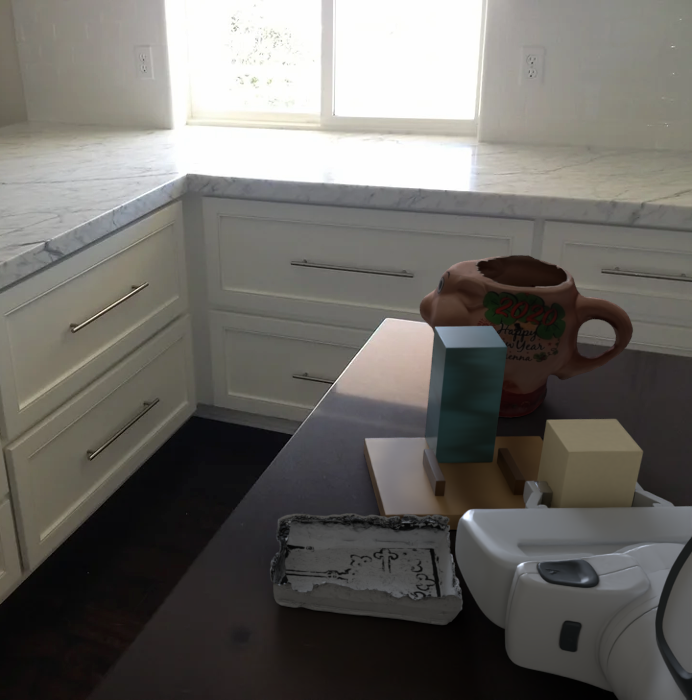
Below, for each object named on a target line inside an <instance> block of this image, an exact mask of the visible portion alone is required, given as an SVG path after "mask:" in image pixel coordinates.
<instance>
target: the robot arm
mask: <svg viewBox="0 0 692 700" xmlns="http://www.w3.org/2000/svg"><path fill="white" fill-rule="evenodd" d="M552 496H553V491H552V489H551V488H550V486H548V483H547V481H526V482H525V487H524V494H523V498H524V502H525V504H526V506H525V509H471V510H468V511H467V512H466V513H465V514H464V515H463V516H462V517H461V518H460V520H459V523H458V528H457V530H456V536H455V559H456V563H457V566H458V568H459V571H460V573H461V575H462V578H463V580H464V582H465V584H466V586H467V588H468V591H469V592H470V594H471V596H472V597H473V599H474V601H475V603H476V605H477V606H478V608H479V609H480V611H481V612H482V613H483V614H484V616H485V617H486V618H487V620H489V621H490V622H491V623H493V624H494V625H496V626H498V627H500V628H502V629H503V630H504V645H505V646H504V648H505V652H506V654H507V656H508V658H509V660H510V661H511V662H512V663H513V664H514V665H517V666H519V667H521V668H525V669H529V670H533V671H539V672H543V673H546V674H553V675H555V676H560V677H565V678H568V679H571V680H575V681H578V682H582V683H584V684H585V683H586V684H588V685H591V686H594V687H597V688H599V689H602V690H605V691H606V692H607V691H608V692H610V693H613V694H614V696H615V697H616V699H617V700H692V505H690V506H689V505H685V506H675V505H674V504H673V502H671V501H668V500H667V499H664V498H662V497H660V496H658V495H655V494H654V493H651V492H649V491H647V490H644V488H643V487H642V486H641V484H639V482H638V481H637V483H636V487H635V492H634V497H633V501H632V506H631V507H608V508H551V503H550V502H551V501H552Z"/></svg>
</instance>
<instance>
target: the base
mask: <svg viewBox="0 0 692 700" xmlns="http://www.w3.org/2000/svg"><path fill="white" fill-rule="evenodd" d="M432 340H433V341H432V352H431V364H430V374H429V387H428V397H427V409H426V419H425V430H424V437H365V438H364V439H363V441H364V442H363V455H364V459H365V462H366V466H367V470H368V474H369V477H370V481H371V485H372V488H373V493H374V496H375V499H376V504H377V508H378V511H379V516H384V517H387V518H389V517H393V516H399V517H400V520H401V519H402V518H403V516H404V515H405V514H409V515H416V516H418V517H425V516H428V515H430V516H431V517H432V516H433V515H442V516H443V517H448V518H449V522H448V523H447V525H449V526H450V530H451V531H452V530H453V531H454V530H456V531H457V528H458V523H459V520H460V518H461V517H462V516H463V515H464V514H465V513H466V512H467V511H468V510H471V509H525V506H526V504H525V502H524V498H523V494H524V487H525V482H526V481H537V479H538V472H539V466H540V460H541V453H542V447H543V441H544V440H543V439H542V438H541V436H540V435H519V436H517V435H515V436H513V435H511V436H497V431H498V423H499V417H500V416H499V409H500V401H501V393H502V385H503V378H504V370H505V362H506V354H507V346H506V345H505V343H504V342H503V340H502V339H501V338H500V336H499V335H498V333H497V332H496V330H495V329H494V328H493V326H459V327H435V329H434V332H433V339H432ZM450 530H449V531H450Z"/></svg>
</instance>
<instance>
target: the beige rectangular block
mask: <svg viewBox="0 0 692 700" xmlns="http://www.w3.org/2000/svg"><path fill="white" fill-rule="evenodd" d="M542 441H543V447H542V453H541V460H540V466H539V472H538V479H537V481H547V483H548V486H550V488H551V489H552V491H553V496H552V501H551V502H550V503H551V508H608V507H631V506H632V501H633V497H634V492H635V487H636V483H637V482H638V479H639V473H640V468H641V463H642V460H643V454H644V450H643V449H642V448H641V447H640V445H638V443H637V442H636V441H635V440H634V438H633V436H631V435H630V434H629V433H628V431H627V430H626V429H625V428H624V427H623V425H622V424H621V423H620V422H619V420H618V419H617V418H604V419H603V418H601V419H600V418H597V419H596V418H591V419H590V418H589V419H587V418H586V419H582V418H579V419H578V418H577V419H546V422H545V428H544V435H543V440H542Z"/></svg>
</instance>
